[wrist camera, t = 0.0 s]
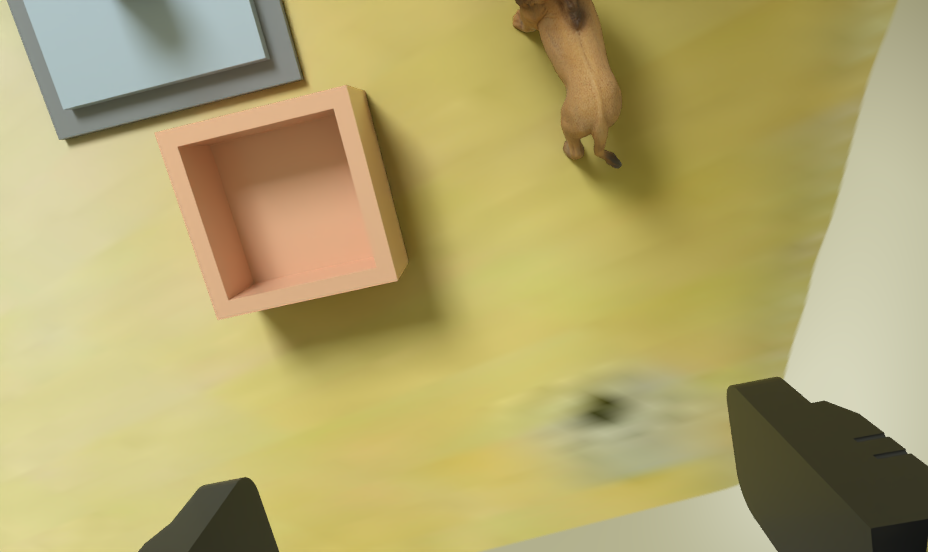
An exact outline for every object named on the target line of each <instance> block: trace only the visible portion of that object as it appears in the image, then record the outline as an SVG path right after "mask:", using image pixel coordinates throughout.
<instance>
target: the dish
mask: <svg viewBox="0 0 928 552" xmlns="http://www.w3.org/2000/svg"><path fill="white" fill-rule="evenodd" d="M155 136H156V139H157V142H158V145H159V148H160V151H161V154H162V157H163V160H164V163H165V166H166V169H167V172H168V175H169V178H170V181H171V184H172V187H173V189H174V192H175V195H176V198H177V201H178V204H179V207H180V210H181V213H182V216H183V219H184V222H185V225H186V228H187V231H188V234H189V237H190V240H191V243H192V246H193V249H194V251H195V254H196V257H197V260H198V263H199V266H200V269H201V272H202V275H203V278H204V281H205V284H206V287H207V290H208V293H209V296H210V299H211V302H212V305H213V308H214V311H215V313H216V316H217V319H218V320H220V319H224V318H229V317H233V316H238V315H243V314H247V313H252V312H257V311H261V310H266V309H270V308H275V307H280V306H284V305H289V304H293V303H298V302H303V301H307V300H312V299H316V298H321V297H326V296H330V295H335V294H340V293H344V292H349V291H353V290H358V289H363V288H367V287H372V286H376V285H381V284H386V283H390V282H395V281H398V280H399V278H400V276H401V275H402V273H403V271H404V270H405V268H406V266H407V264H408V263H409V261H408V257H407V253H406V249H405V245H404V241H403V237H402V234H401V230H400V226H399V222H398V218H397V214H396V210H395V206H394V202H393V199H392V195H391V191H390V187H389V183H388V179H387V175H386V171H385V167H384V163H383V160H382V156H381V152H380V148H379V144H378V140H377V136H376V132H375V128H374V125H373V121H372V117H371V113H370V109H369V105H368V101H367V97H366V93H365V91H364V90H360V89H357V88H354V87H351V86H348V85H344V86H340V87H336V88H332V89H328V90H324V91H320V92H316V93H312V94H308V95H304V96H300V97H296V98H292V99H288V100H284V101H280V102H276V103H272V104H268V105H264V106H260V107H256V108H252V109H248V110H244V111H240V112H236V113H232V114H228V115H224V116H220V117H216V118H212V119H208V120H204V121H199V122H195V123H191V124H187V125H183V126H179V127H175V128H171V129H167V130H163V131H159V132H155Z"/></svg>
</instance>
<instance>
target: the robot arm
mask: <svg viewBox="0 0 928 552" xmlns="http://www.w3.org/2000/svg"><path fill="white" fill-rule="evenodd" d="M727 405H728V412H729V419H730V427H731V434H732V441H733V448H734V455H735V462H736V469H737V475H738V480H739V484H740V487H741V490H742V493H743V496H744V499H745V501H746V503H747V506H748V508H749V510H750V511H751V513H752V515H753V516H754V518H755V519H756V521H757V522H758V524H759V525H760V527H761V528H762V530H763V531H764V532H765V534H766V535H767V537H768V538H769V540H770V541H771V543H772V544H773V545H774V547H775V548H776V550H777V551H778V552H928V466H927V465H926V464H924V463H923V462H922V461H920V460H919V459H918V458H916V457H915V456H914V455H912V454H907V452H906V449H905V448H903V447H902V446H901V445H899V444H898V443H897V442H895V441H894V440H893V439H892V438H890V437H885V435H884V432H882V431H881V430H880V429H878V428H877V427H876V426H875V425H873V424H872V423H871V422H869V421H868V420H867V419H865V418H864V417H863V416H861V415H860V414H858V413H855V412H853V411H850V410H848V409H845V408H842V407H840V406H837V405H835V404H832V403H829V402H827V401H820V402H815V403H810V402H809V401H808V400H807V399H805V398H804V397H803V396H802V395H801V394H800V393H798V392H797V391H796V390H795V389H794V388H793V387H791V386H790V385H789V384H788V383H787V382H785V381H784V380H783V379H782V378H780V377H773V378H768V379H762V380H757V381H752V382H747V383H741V384H736V385H731V386H729V387H728V389H727ZM138 552H279V550H278V547H277V544H276V541H275V539H274V536H273V533H272V530H271V527H270V524H269V521H268V518H267V515H266V513H265V510H264V507H263V504H262V501H261V498H260V495H259V492H258V490H257V487H256V485H255V484H254V482H253V481H252V480H251V479H249V478H246V477H244V478H239V479H233V480H228V481H223V482H218V483H213V484H207V485H203V486H201V487H200V488H199V489H198V490H197V491H196V492H195V494H194V495H193V496H192V497H191V499H190V500H189V501H188V502H187V504H186V505H185V506H184V507H183V509H182V510H181V511H180V512H179V514H178V515H177V516H176V517H175V519H174V520H173V521H172V522H171V523H170V524H169V525H168V526H166V527H165V528H164V529H163V530H161V531H160V532H159V533H158V534H156V535H155V536H154V537H153V538H151V539H150V540H149V541H148V542H146V543H145V544H144V545H143V547H142V548H141V549H140V550H139V551H138Z"/></svg>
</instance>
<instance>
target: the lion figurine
mask: <svg viewBox="0 0 928 552" xmlns="http://www.w3.org/2000/svg"><path fill="white" fill-rule="evenodd" d="M515 1H516V3H517V4H518V5H519V6H520V9H519V10H517V13H516V14H515V15H514V16H513V26H514V27H515V28H517V29H519V30H521V31H523V32H530V31H533V32H534V31H535V30H539V33H540V37H541V41H542V43H543V46H544V49H545V51H546V53H547V55H548V57H549V59H550V61H551V62H552V64H553V67H554V69H555V71H556V73H557V74H558V76H559V77H560V79H561V80H562V81H563V83H564V85H565V87H566V91H567V95H566V99H565V101H564V104H563V106H562V109H561V126H562V130H563V133H564V135H565V138H566V140H567V141H566V142H565V143H564V147H563V150H564V152H565V154H566V155H567V156H568V157H569V158H571V159H574V160H576V159H580V158H582V157H583V155H584V147H583V145H582V143H581V141H580V139H581V138H583V137H586V136H587V135H589V134H591V135H592V136H593V139H594V143H595V144H594V153H595V155H596V156H598V157H600V158H603V159H605V160H606V162H607V164H609V165H611V166H612V167H614V168H620V167H621V166H622V163H621V162H620V160H619V159H618V158H617V157H616V155H615V154H614V153H612V152H609V151H607V150H604V148H605V144H606V139H607V135H608V127H610V126H612V125H613V124H614V123H615V122H616V120H617V119H618V117H619V115H620V112H621V107H622V97H621V90H620V87H619V86H618V84H617V81H616V79H615V77H614V75H613V73H612V71H611V69H610V66H609V63H608V59H607V55H606V49H605V44H604V40H603V35H602V29H601V25H600V21H599V18H598V15H597V12H596V10H595V7H594V4H593V2H592V0H515Z"/></svg>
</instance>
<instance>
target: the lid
mask: <svg viewBox="0 0 928 552" xmlns="http://www.w3.org/2000/svg"><path fill="white" fill-rule="evenodd" d="M23 2H24V4H25V7H26V10H27V13H28V15H29V18H30V21H31V23H32V26H33V29H34V31H35V34H36V37H37V40H38V42H39V45H40V48H41V50H42V53H43V56H44V59H45V61H46V64H47V67H48V69H49V72H50V75H51V78H52V80H53V83H54V86H55V88H56V91H57V94H58V97H59V99H60V102H61V105H62V107H63V110H74V109H78V108H82V107H86V106H90V105H94V104H98V103H102V102H105V101H109V100H113V99H117V98H121V97H125V96H129V95H133V94H137V93H141V92H145V91H148V90H152V89H156V88H160V87H164V86H168V85H172V84H176V83H180V82H184V81H188V80H191V79H195V78H199V77H203V76H207V75H211V74H215V73H219V72H223V71H227V70H231V69H234V68H238V67H242V66H246V65H250V64H254V63H258V62H262V61H266V60H270V56H269V53H268V49H267V46H266V42H265V39H264V36H263V32H262V29H261V25H260V22H259V18H258V15H257V11H256V8H255V4H254V1H253V0H23Z"/></svg>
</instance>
